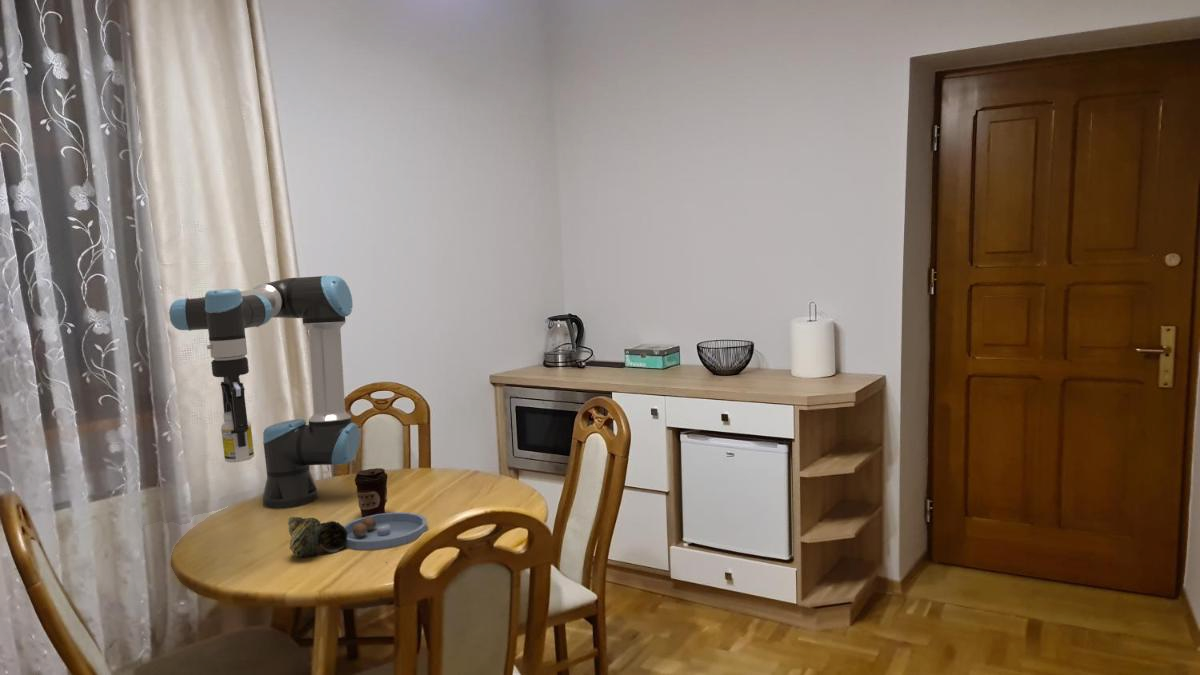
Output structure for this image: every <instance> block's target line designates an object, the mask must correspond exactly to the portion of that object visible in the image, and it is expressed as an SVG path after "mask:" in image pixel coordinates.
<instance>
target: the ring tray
mask: <svg viewBox="0 0 1200 675" xmlns="http://www.w3.org/2000/svg"><path fill="white" fill-rule="evenodd" d="M367 517H373V518H374V519H375V521H376V526H375V528H374V529H373V530H371V531H367V533H366V535H365V536H363V537H361V538H359V537H356V536H355V535H354V534H353V527H354V526H355V525H356V524H358V523H362V521H363V519H364V518H366V517H363V518H362V517H359V518H357V519H354V520H352V521H350V522H347V523H346V524H344V525H343V526H344V528H345V529H346V530H347V542H346V544H345V546H344V547H343V548H347V549H351V550H356V551H375V550H376V551H377V550H385V549H391V548H395V547H401V546H403V545H407V544H409V543H411V542H414V541H416V540H418V538H419V537H420V536H421V535H422V534H423V533H424V532H426V531H427V532H428V520H427V519H428V518H427V517H425V516H423V515H422V514H420V513H414V512H408V511H407V512H405V511H404V512H399V511H398V512H397V511H394V512H393V511H392V512H385V513H383V514H376V515H371V516H367ZM427 532H426V533H427ZM419 539H420V538H419Z"/></svg>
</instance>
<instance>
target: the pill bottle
mask: <svg viewBox="0 0 1200 675" xmlns="http://www.w3.org/2000/svg"><path fill="white" fill-rule="evenodd" d="M222 414H223V417H222V418H223V421H224V420H225V422H223V423H222V424H221V427H220V429H221V439H222V445H223V456H224V461H225V462H226V463H241V462H245V461H247V460H244V461H238V462H236V457H235V448H234V438H233V434H231V431H234V427H233V421H232V415H231V411H230V412H226V413H224V412H223V413H222ZM247 422H248V427H249V428H248V430H247V441H248V450H249V460H248V461H250V460H251V459H253V458H254V457H255V453H254V452H255V451H254V444H253V443H254V442H253V441H254V440H253V434H252V425H251V422H250V421H249V420H248V419H247ZM239 426H242V425H239Z"/></svg>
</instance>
